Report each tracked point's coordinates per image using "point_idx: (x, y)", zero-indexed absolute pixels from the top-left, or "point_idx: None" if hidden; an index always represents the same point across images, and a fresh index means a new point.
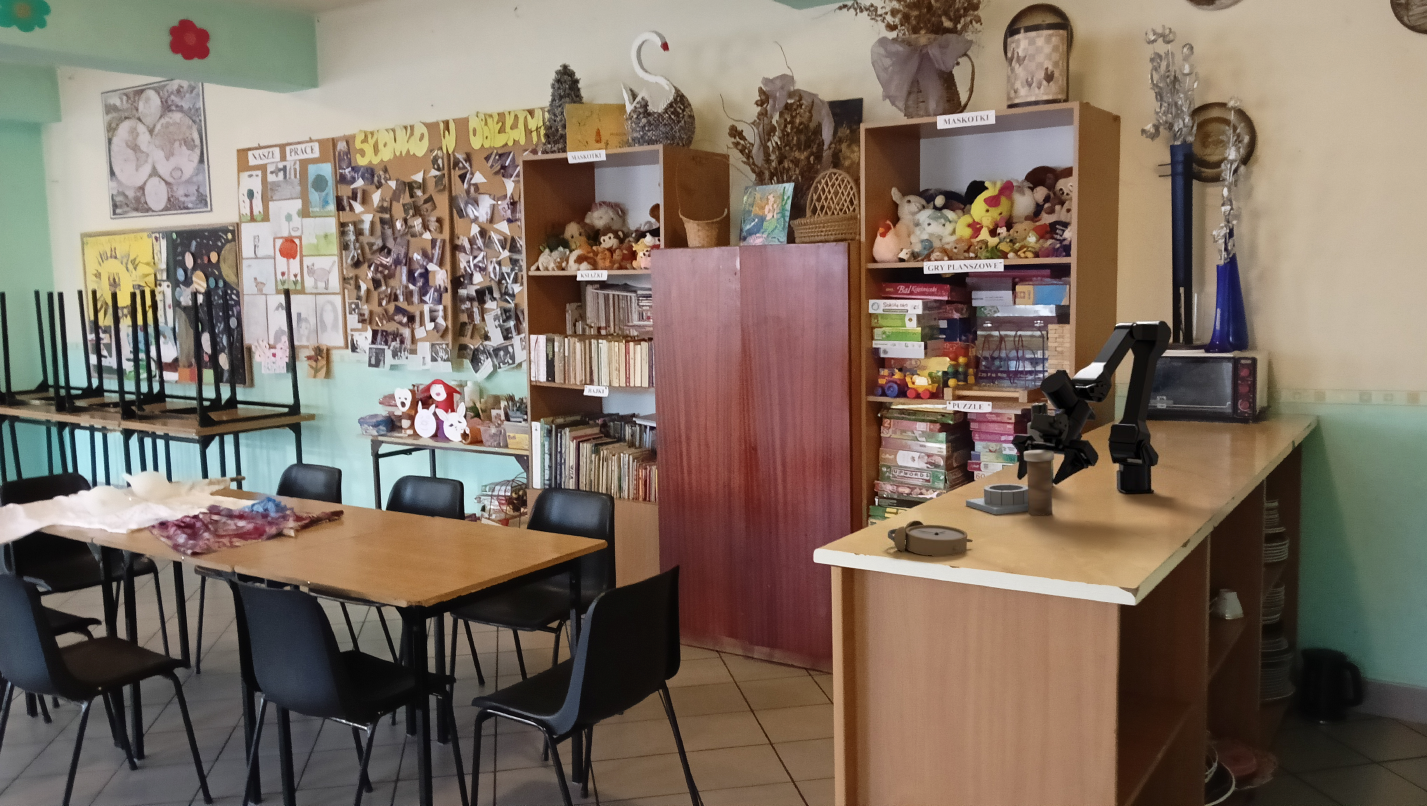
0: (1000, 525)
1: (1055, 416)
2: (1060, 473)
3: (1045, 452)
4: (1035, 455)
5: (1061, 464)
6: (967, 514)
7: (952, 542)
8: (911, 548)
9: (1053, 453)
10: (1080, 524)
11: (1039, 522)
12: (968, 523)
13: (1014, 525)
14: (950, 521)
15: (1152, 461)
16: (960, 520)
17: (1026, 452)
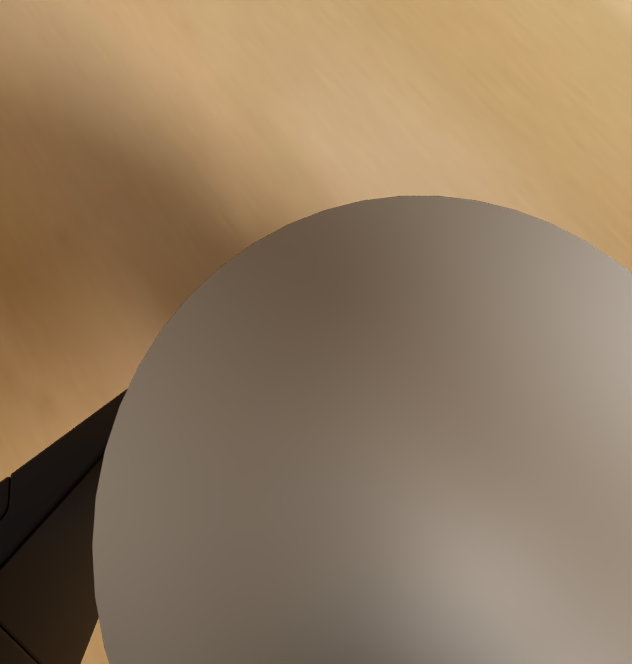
0: (313, 109)
1: None
2: (73, 431)
3: (277, 549)
4: (310, 227)
5: (27, 518)
6: (574, 203)
7: None
8: None
9: (123, 651)
10: (37, 324)
11: (215, 251)
12: (440, 67)
13: (266, 141)
14: (521, 56)
15: None
16: (505, 93)
17: (620, 326)
